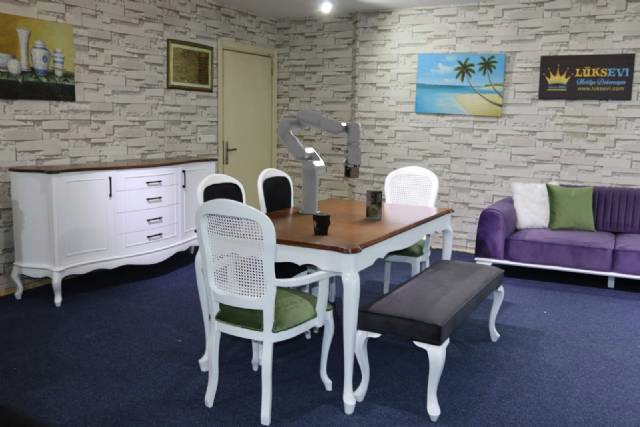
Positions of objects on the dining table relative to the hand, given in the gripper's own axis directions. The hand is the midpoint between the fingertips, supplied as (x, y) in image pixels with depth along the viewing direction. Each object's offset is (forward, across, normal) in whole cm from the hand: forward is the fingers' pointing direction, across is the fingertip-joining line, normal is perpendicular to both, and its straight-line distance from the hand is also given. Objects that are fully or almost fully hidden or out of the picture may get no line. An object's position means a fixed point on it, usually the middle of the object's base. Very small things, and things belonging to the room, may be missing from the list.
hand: (351, 175), depth 341 cm
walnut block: (+1, 0, 0) cm, 1 cm away
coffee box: (+24, +6, -13) cm, 28 cm away
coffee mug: (+24, -55, -31) cm, 67 cm away
